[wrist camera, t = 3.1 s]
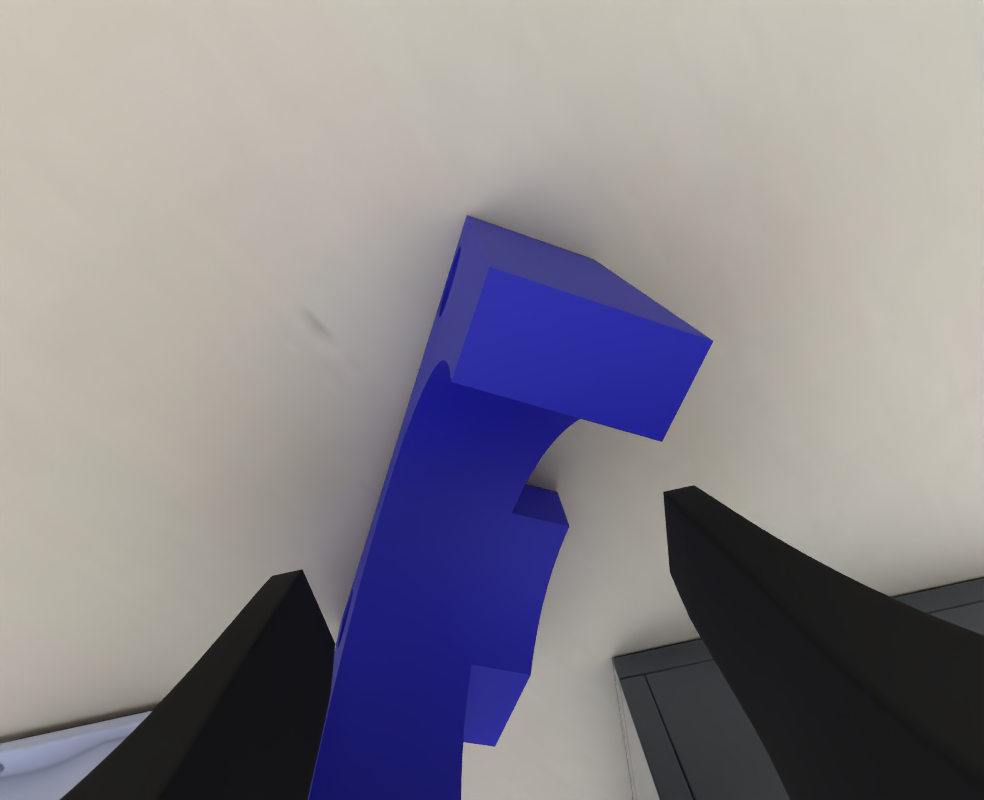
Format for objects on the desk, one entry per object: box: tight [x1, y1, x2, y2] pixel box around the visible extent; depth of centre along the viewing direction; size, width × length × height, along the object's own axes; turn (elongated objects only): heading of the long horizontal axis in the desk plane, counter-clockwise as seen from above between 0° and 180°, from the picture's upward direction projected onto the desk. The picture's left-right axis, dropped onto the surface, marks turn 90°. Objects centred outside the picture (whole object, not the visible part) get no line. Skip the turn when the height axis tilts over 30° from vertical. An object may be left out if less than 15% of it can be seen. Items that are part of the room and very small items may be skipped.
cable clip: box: [308, 215, 713, 800], centre depth 12 cm, size 12×4×6 cm, turn 161°
